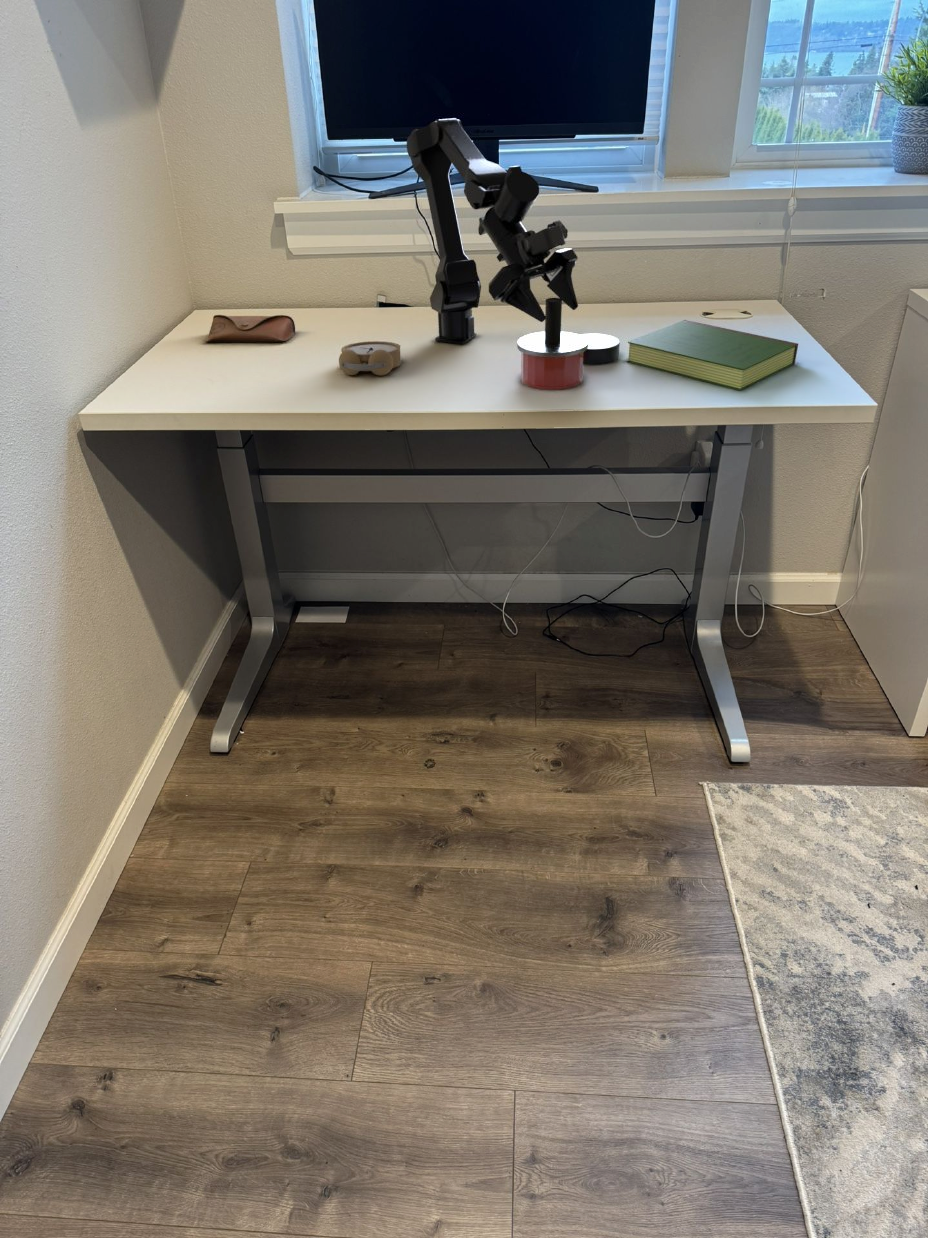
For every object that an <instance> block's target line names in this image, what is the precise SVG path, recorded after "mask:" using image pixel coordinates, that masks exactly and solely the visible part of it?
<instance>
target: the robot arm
mask: <svg viewBox="0 0 928 1238" xmlns="http://www.w3.org/2000/svg"><path fill="white" fill-rule="evenodd" d="M406 151H407V155H408V157H409V158H410V161H411V165H412V169H413V171H414V172H415V173H416V174H417V175H418V177H419V178H420V179H421V180H422V181H423V182H424V186H425V192H426V195H427V201H428V207H429V211H430V216H431V219H432V220H431V221H432V225H433V230H434V231H433V232H434V235H435V241H436V246H437V250H438V255H439V256H438V257H439V262H438V266H437V269H436V271H435V274H434V275H435V285H434V287H433V290H432V291H431V294H430V296H429V303H430V308H431V309H432V310H433V311H435V312H437V324H438V325H437V326H438V336H436V337H435V338H434V341H435V342H441V343H447V344H456V345H464V344H465V343H467V342H469V341H471V340H472V339H474V338H476V337H477V333H475V316H474V315H473V309H477V308H479V304H480V298H481V297H480V296H481V291H482V285H481V280H480V277H479V275H478V269H477V262H476V261H475V260H474V258H471V259H470V258H469V257H468V256H467V255H466V254H465V252H464V247H463V242H462V237H461V233H460V232H461V231H460V226H459V221H458V216H457V212H456V211H457V210H456V206H455V201H454V196H453V190H452V186H451V181H450V171H451V168H452V166H454V168H455V169H456V171H457V172H458V174H459V175H460V177H461V178H462V180H463V181H464V188H463V194H464V196H465V197H466V200H467V202H468V203H469V205H470V207H471V208H472V209H474V210H484V209H485V210H486V209H488V210H486V212H485V214H484V215H483V216H482V217H479V218H478V222H479V224H478V227H477V228H478V229H477V230H478V235H479V236H483V235H485V234H487V236H488V237H489V239H490V240H491V242H492V244H493V245H494V246H495V249H496V250H497V252H499V253H498V255H496V259H497V261H498V263H501V262H505V263H506V265H504V266H502V267H501V268H500V269H499V271H498V272H497V273H496V274H495V275H494V276H493V278H492V279H491V280H490V281H489V283H488V293H489V295H490V296H491V298H492V299H493V300H494V301H493V302H495V301H498V300H500V303H503V304H504V303H505V304H507V305H510V306H511V307H513V308H515V309H518V310H520V311H521V312H523V313H524V314H526V315H528V316H530V317H532V318H533V319H535V320H537V321H539V322H540V323H543V322H545V319H546V317H545V312H544V311H543V309H542V307H541V305H540V303H539V301H538V300H537V298H536V296H535V295H534V293H533V291H532V288H531V280H533V279H537V278H540V277H541V278H542V280H543V281H545V282H546V283H548V284H546V287H547V288H548V289H549V290H550V291H551V292H552V293H553V294H555V295H556V296H557V298H560V299H562V303H564V304H565V305H566V306H567V307H569V308H570V309H571V310H572V311H575V310H576V309H578V308H579V304H578V300H577V296H576V292H575V288H574V283H573V278H572V274H573V268H575V267H576V262H577V261H578V259H579V257H578V256H577V254H576V252H575V251H574V249H573V248H568V247H565V248H561V249H558V250H555V251H554V252H553V253H551V250H553V249H555V248H557V247H559V246H561V247H562V246H564V245H566V244H567V242H566V239H567V238H568V235H569V234H568V232H569V230H568V228H566V226H565V225H564V224H563V222H562V221H561V220H556V221H553V222H552V223H548V224H547V227H546V228H543V229H541V230H539V231H537V232H536V231H535V230H532V229H531V230H526V228H525V227H524V225H523V224H522V222H523V221H524V220H525V219H526V217H527V216H528V214H529V213H530V210H531V209H532V207H533V205H534V203H535V202H536V200H537V198H538V197H539V195H540V185H539V183H538V181H537V180H536V179H535V178H534V177H533V176H532V175H531V174H529V173H528V172H526V171H523V170H522V168H521V165H513V166H508V169H507V171H506V170H505V169H504V168H503V167H502V166H501V165H499V164H498V163H495V162H493V161H489V160H487V158H485V157H484V155H483V154H482V152H481V151H480V150H479V149H478V148H477V146H476V145H475V143H474V142H473V141H472V139H471V138H470V137H469V135H468V134H467V133H466V131H465V130H464V127H463V123H462V121H461V120H460V119H457V118H456V117H453V118H442V119H440V118H439V119H435V121H432V122H431V123H430V124H428V125H426V126H423V127H421V128H418V129H413V130H412V131H411V133H410V135H409V136H408V137H407V140H406ZM549 256H550V257H549ZM548 257H549V258H548ZM547 258H548V259H547ZM545 259H546V261H545Z"/></svg>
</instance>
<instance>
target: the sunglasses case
mask: <svg viewBox="0 0 928 1238" xmlns="http://www.w3.org/2000/svg"><path fill="white" fill-rule="evenodd" d="M295 335H296V323H295V321H294V319H293V317H291V316H290V315H285V314H277V315H224V314H215V315H214V316H213V317H212V322H211V326H210V328H209V333H208V335H207V339H206V340H204V343H216V342H217V343H248V344H249V343H252V344H265V343H278V342H287V341H289V340H291V339H292V338H293V337H294V336H295Z"/></svg>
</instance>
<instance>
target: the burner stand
mask: <svg viewBox="0 0 928 1238" xmlns="http://www.w3.org/2000/svg"><path fill="white" fill-rule="evenodd" d="M579 335H581V336H583V337H585V338H586V339H587V340H588V342H589V343H588V348H587V350H585V351H584V362H583V365H585V366H586V365H587V366H599V365H607V364H611V363H614V362H616V361H617V360H619V357H620V344H621V341H620V339H618V337H615V335H614V336H613V335H610V334H605V333H581V334H580V333H579Z"/></svg>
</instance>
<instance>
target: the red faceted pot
mask: <svg viewBox="0 0 928 1238" xmlns="http://www.w3.org/2000/svg"><path fill="white" fill-rule="evenodd" d="M520 353H521V356H520V378H521V382H522V384H524V385H525V386H527V387H530V388H533V389H538V390H547V391H559V390H566V389H571V388H575V387H577V386H579V385H580V384H581V383H582V382H583V376H584V364H583V362H584V352H582V353H579V354H576V355H571V356H565V357H539V356H533V355H529V354H526V353H523V352H521V351H520Z"/></svg>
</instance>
